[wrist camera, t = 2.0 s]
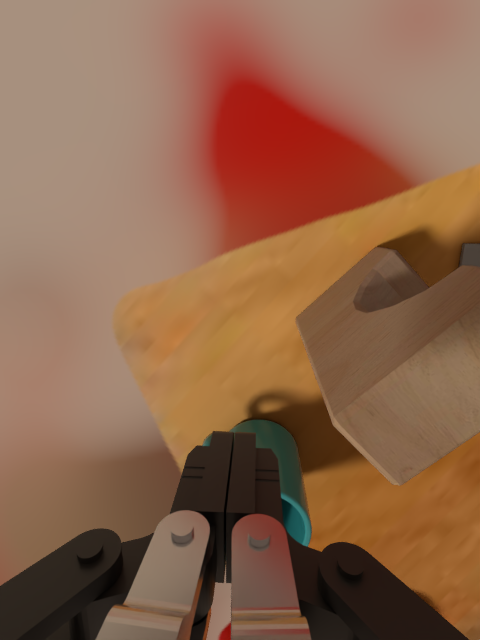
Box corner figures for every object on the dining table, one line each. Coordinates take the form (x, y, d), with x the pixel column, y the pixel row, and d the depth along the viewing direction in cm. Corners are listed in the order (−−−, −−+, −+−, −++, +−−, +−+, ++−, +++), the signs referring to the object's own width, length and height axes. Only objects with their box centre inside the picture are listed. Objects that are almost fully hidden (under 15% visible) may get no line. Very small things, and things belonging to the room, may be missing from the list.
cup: (240, 384, 39) (233, 446, 28) (314, 452, 41) (334, 534, 30) (186, 433, 41) (160, 508, 30) (258, 496, 43) (258, 588, 32)
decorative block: (378, 243, 34) (529, 269, 15) (413, 285, 35) (599, 362, 16) (291, 317, 37) (327, 421, 18) (326, 355, 38) (397, 494, 18)
